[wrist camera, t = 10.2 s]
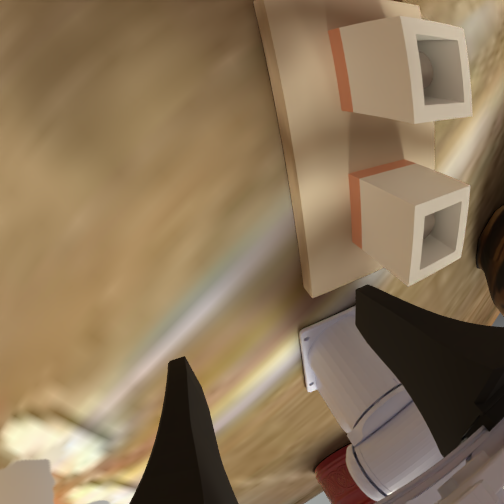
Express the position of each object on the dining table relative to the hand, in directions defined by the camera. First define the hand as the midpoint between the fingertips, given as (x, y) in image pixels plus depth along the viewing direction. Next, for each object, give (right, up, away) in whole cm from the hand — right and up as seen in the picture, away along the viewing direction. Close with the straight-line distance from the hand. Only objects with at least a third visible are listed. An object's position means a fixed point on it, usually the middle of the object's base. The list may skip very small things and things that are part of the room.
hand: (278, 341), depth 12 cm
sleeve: (+6, +15, +4) cm, 16 cm away
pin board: (+6, +11, +8) cm, 15 cm away
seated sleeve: (+8, +7, +9) cm, 14 cm away
